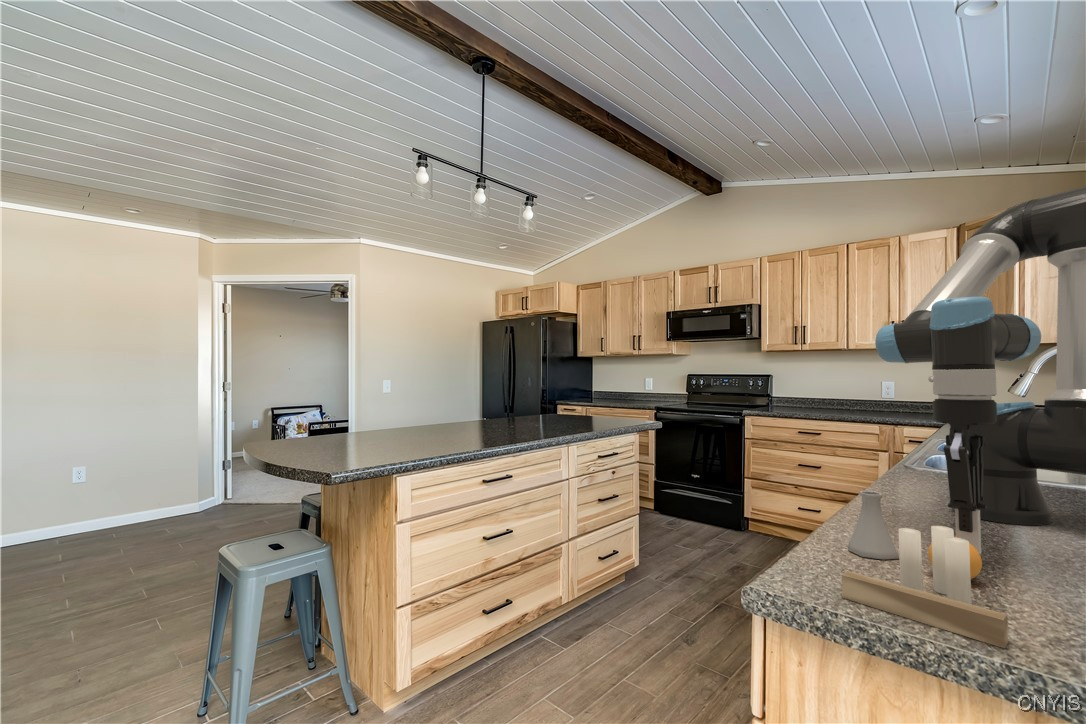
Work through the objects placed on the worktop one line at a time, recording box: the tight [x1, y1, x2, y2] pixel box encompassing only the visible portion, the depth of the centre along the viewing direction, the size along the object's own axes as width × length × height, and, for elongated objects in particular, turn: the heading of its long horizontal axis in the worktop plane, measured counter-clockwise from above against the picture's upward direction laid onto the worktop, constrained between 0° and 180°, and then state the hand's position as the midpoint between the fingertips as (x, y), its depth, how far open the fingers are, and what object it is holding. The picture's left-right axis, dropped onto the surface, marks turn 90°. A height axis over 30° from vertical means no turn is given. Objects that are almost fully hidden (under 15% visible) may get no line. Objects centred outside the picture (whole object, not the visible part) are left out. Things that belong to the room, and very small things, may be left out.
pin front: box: [930, 525, 955, 596], centre depth 68 cm, size 2×2×8 cm
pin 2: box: [945, 536, 972, 605], centre depth 63 cm, size 2×2×8 cm
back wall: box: [841, 570, 1009, 649], centre depth 60 cm, size 2×16×3 cm, turn 38°
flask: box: [847, 490, 900, 560], centre depth 82 cm, size 7×7×10 cm
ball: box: [927, 536, 983, 580], centre depth 71 cm, size 6×6×6 cm
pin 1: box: [898, 527, 924, 592], centre depth 67 cm, size 2×2×8 cm
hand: (968, 551), depth 76 cm, fingers closed
